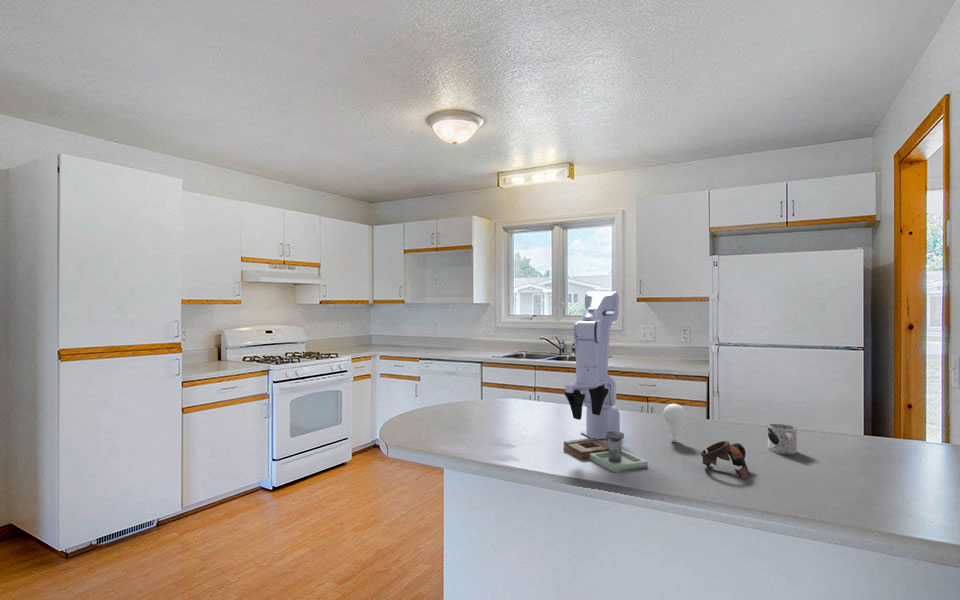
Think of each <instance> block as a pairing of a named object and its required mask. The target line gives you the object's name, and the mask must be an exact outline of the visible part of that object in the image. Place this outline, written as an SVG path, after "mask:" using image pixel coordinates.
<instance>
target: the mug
mask: <svg viewBox="0 0 960 600" xmlns="http://www.w3.org/2000/svg"><path fill="white" fill-rule="evenodd" d="M797 429H798V428H797V427H796V426H794V425H789V424H785V423H769V424H768V425H767V450H768V451H770V452H772V453H775V454H780V455H786V456H787V455H788V456H789V455H793V456H794V455H796V454H797V443H798V442H797V436H798V435H797V431H798V430H797Z"/></svg>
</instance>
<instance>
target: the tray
mask: <svg viewBox="0 0 960 600" xmlns="http://www.w3.org/2000/svg"><path fill="white" fill-rule="evenodd" d="M621 455H622V461H621V462H620V463H613V462H610V461H608V451H607V452H599V453H591V454H590V459H589V460H590V461H592V462H594V463H595V464H597V465H599V466H601V467H603V468H604V469H606V470H608V471H610V472H611V473H619V472H627V471H633V470H640V469H647V468H649V467H648V466H649V464H648V461H647V460H646V459H643V458H641V457H639V456H637V455H635V454H632V453H630V452H628V451H625V450H623V449H621Z"/></svg>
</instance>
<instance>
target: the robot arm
mask: <svg viewBox="0 0 960 600" xmlns="http://www.w3.org/2000/svg"><path fill="white" fill-rule="evenodd" d="M619 307H620V297H619V293H618V292H617V290H616V291H587V292H586V293H585V295H584V309H585V310H584V311H583V313H582V315H581V318H580V320H578V321H577V322H575V323H574V325H573V340H574V349H575V380H573V382H570V383H567V384H565V390H564V396H565V397H566V399H567V401H568V404H569V406H570V410H571V413H572V417H573V419H575V420H581V419H582V416H583V414H582V413H583V404H584V405H585V407H586V410H585V411H586V415H585V416H586V417H585V418H586V421H585V422H586V423H585V424H586V425H585V428H586V430H582V431H580V434H582V435H584V436H586V437H588V438H597V439H598V440H605V439H608V438H607V437H606V432H609V431H616V432H621V431H620V429H621V428H620V423H621V417H620V415H621V414H620V411H619V409H618V407H617V406H616V403H617V382H616V380H615V379H614V378H613V377H611V375H609V374H608V370H609V369H608V367H609V355H610V354H609V352H610V351H609V350H610V337H611V336H610V335H611V328H612V327H611V326H612V323H613V322H616V321H617V320H618V318H619V310H620V309H619Z"/></svg>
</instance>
